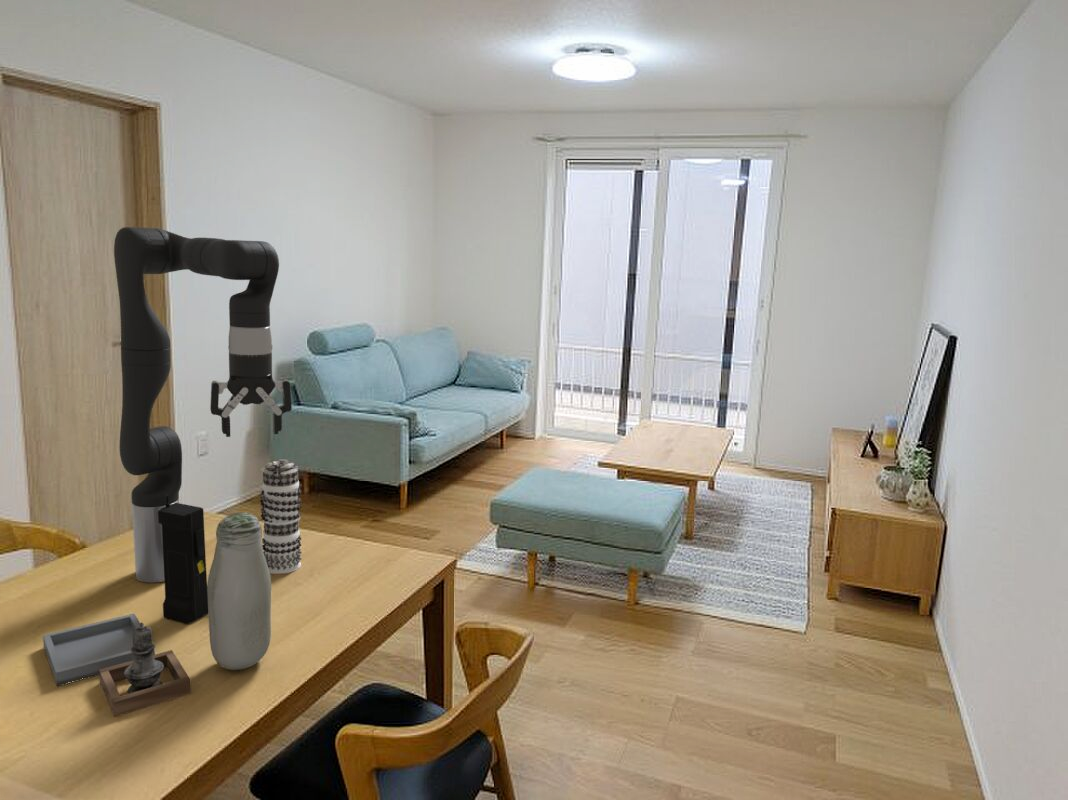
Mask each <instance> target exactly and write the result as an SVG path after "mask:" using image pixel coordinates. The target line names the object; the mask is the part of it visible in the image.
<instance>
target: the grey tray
mask: <svg viewBox="0 0 1068 800" xmlns="http://www.w3.org/2000/svg"><path fill="white" fill-rule="evenodd" d="M140 623H141V622H140V620H139V618H138V617H137V615H136V614H135V613H131V614H126V615H123V616H117V617H114V618H109V619H105V620H100V621H96V622H92V623H89V624H83V625H81V626H80V625H79V626H75V627H71V628H68V629H67V628H66V629H63V630H58V631H54V632H50V633H46V634H43V635H42V639H43V648H45V649H44V651H46V652H45V654H47V655H46V658H47V657H48V658H47V661H48V660H49V661H48V664H49V663H50V664H49V666H51V667H50V669H52V670H51V672H53V673H52V675H53V678H54V682H55V684H56V687H60V686H59V685H61V686H63V685H62V684H64V685H67V684H66V683H68V682H71V683H73V682H72V681H75V682H77V681H76V680H79V681H81V680H80V679H82V678H83V679H82V680H85V679H84V678H86V679H89V678H88V677H90V678H93V677H96V676H95V675H97V676H99V670H100V669H103V668H107V667H111V666H114V665H118V664H122V663H126V662H129V661H133V653H132V652H131V648H132V647H133V635H132V634H133V631H134V630H135V629H136V628H138V627H140ZM153 655H155V648H154V649H153ZM92 676H93V677H92ZM68 684H69V683H68Z"/></svg>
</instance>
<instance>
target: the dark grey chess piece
mask: <svg viewBox="0 0 1068 800" xmlns="http://www.w3.org/2000/svg"><path fill="white" fill-rule="evenodd" d="M152 634H153V632H152V629H151V627H150V626H146V625H145V623H143V622H142V621H141V622H140V627H138V628H136V629H135V630H134V631H133V634H132V635H133V647H132V648H131V652H132V653H133V664H132V665H130V666H128V667H127V668H126V670H125V671H124V675H125V676H126V677H127V679H126V680H127V682H128V683H129V684H130V686H128V689H127V694H130V693H134V692H137V691H140V690H144V689H147V688H150V687H154V686H157V685H161V684H164V682H162V681H161V680H160V678H161V675H162V673H163V672H162V671H163V670H164V669H163V668H164V664H163V663H162V662H160V661H158V660H154V656H153V649H154V650H155V647H156V645H155V644H154V643H153V635H152Z"/></svg>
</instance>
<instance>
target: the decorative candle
mask: <svg viewBox="0 0 1068 800" xmlns="http://www.w3.org/2000/svg"><path fill="white" fill-rule="evenodd" d="M299 470H300V467H299V466H298V465H296V464H295V463H294V462H293V461H291V460H289V459H275V460H271V461H269V462H267V463H266V464H265V466H263V467H262V468H261V472H262V490H261V491H260V493H259V497H260V499H259V502H260V505H261V508H260V512H261V514H260V517H261V520H262V522H263V523H264V524H263V525H264V530H262V534H263V537H262V547H263V553H264V556H265V559H266V562H267V566H268V569H269V573H270V574H273V575H274V574H275V575H276V574H277V575H282V574H289V573H292V572H295V571H297V570H299V569H300V568H301V566H302V563H301V560H302V557H301V554H302V553H303V552H302V551H301V548H300V547H301V546H302V544H301V540H302V537H301V535H300V527H299V526H300V523H299V522H300V521H299V520H301V516H302V514H301V513H300V512H299V511H300V510H301V509H302V508H303V506H302V504H301V502H302V501H303V500H302V499H301V498H300V497H299V496H300V495H302V494H303V491H302V490H301V488H302V487H303V485H302V483H301V482H300V481H299Z"/></svg>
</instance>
